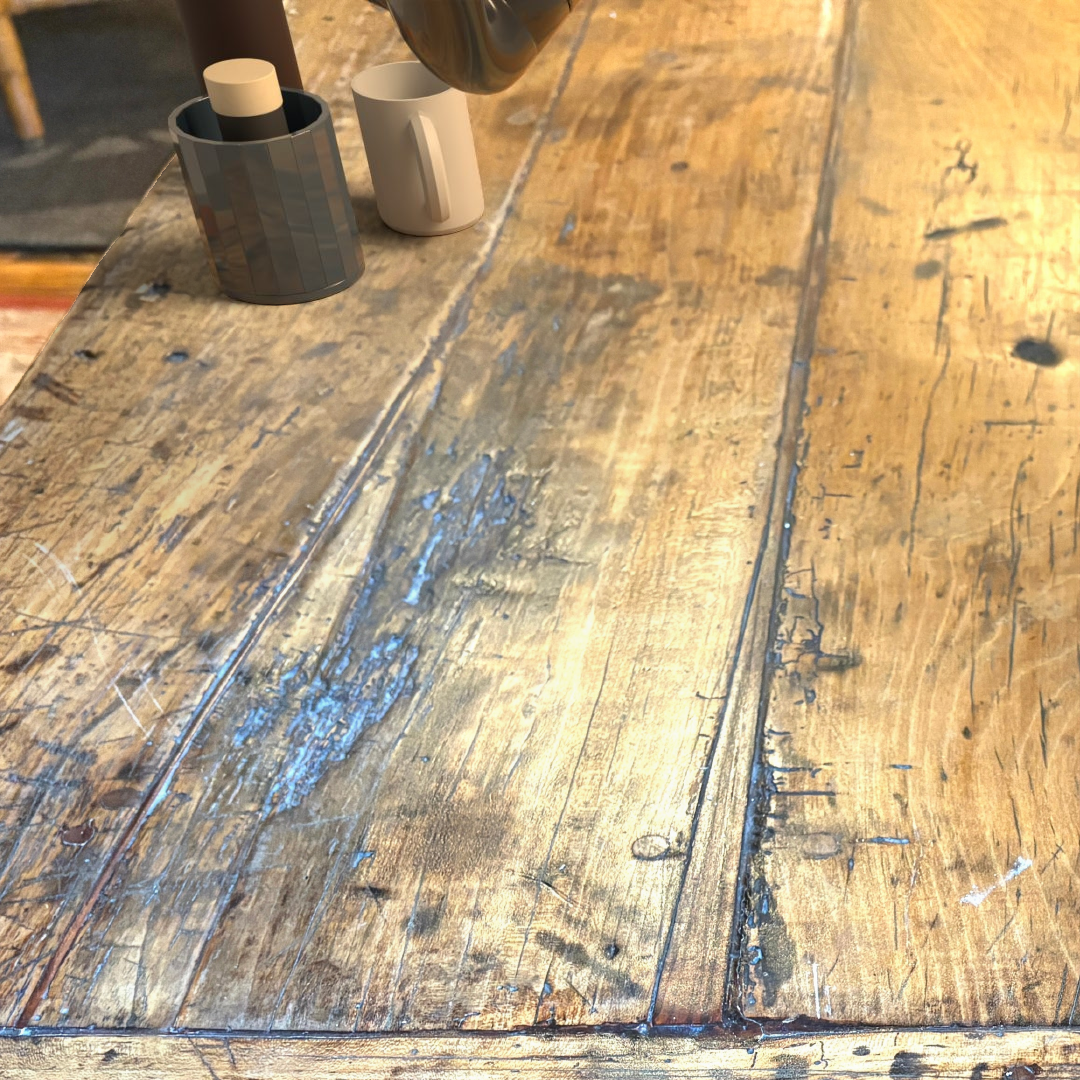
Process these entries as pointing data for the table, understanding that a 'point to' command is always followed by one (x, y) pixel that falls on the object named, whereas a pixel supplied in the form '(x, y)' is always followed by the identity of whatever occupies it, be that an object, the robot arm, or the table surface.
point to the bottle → (239, 36)
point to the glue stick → (246, 100)
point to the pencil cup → (271, 203)
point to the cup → (418, 149)
